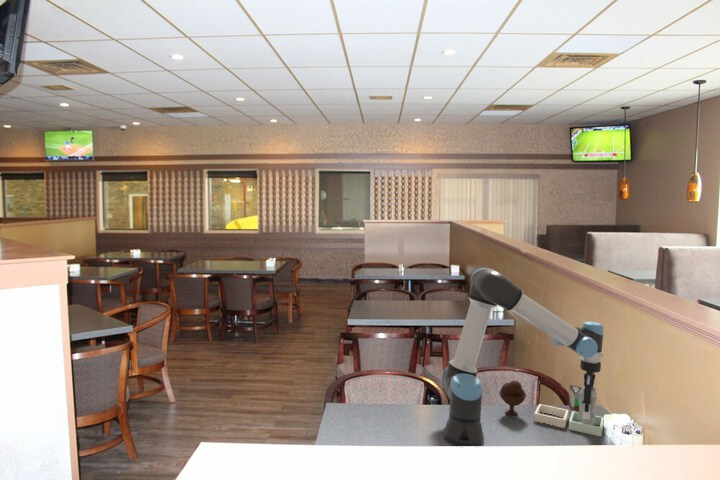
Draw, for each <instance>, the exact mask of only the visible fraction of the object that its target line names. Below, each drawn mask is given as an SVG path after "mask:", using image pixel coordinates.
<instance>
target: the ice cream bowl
mask: <svg viewBox="0 0 720 480" xmlns="http://www.w3.org/2000/svg"><path fill="white" fill-rule="evenodd" d="M499 396H500V398H501V400H503V401H504V403H505V404H506V405H508V406H509V409H508V410H506V411H505V412H504V414H505V416H508V417H511V416H517V417H518V416H519V414H518V412H517V411H515V407H516V406H519V405H520V404H522V403H523V402H524V401H525V399H526V397H527V394H526V391H525V390H524V388H523V387H522V384H521V382H519V381H517V380H511V381H510V382H505V383H504V384H502V386H501V388H500V390H499Z"/></svg>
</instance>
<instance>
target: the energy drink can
mask: <svg viewBox="0 0 720 480" xmlns="http://www.w3.org/2000/svg"><path fill="white" fill-rule="evenodd" d="M584 388H585V385H583V386H582V390H581V392H580V406H579V419H578V421H577V422H580V423H585V424H589V425H594V426H595V424H594V423H595V416H596V409H597V407H596V406H597V393H598V392H597V391H596V388H594V386H593V387H592V392H591V409H590V420H587V419H582V415H583V403H582V401H584Z"/></svg>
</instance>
